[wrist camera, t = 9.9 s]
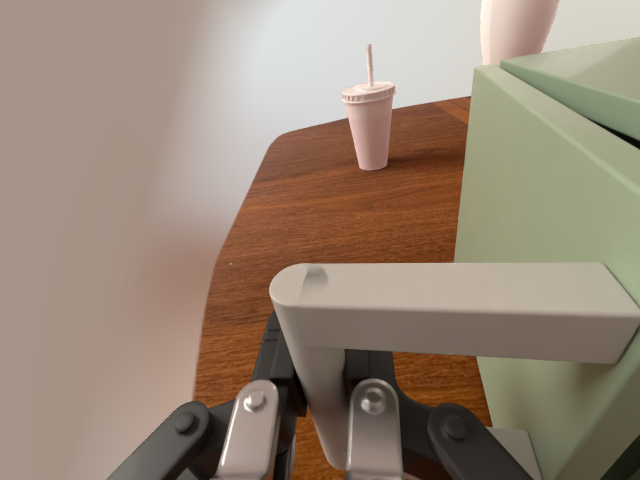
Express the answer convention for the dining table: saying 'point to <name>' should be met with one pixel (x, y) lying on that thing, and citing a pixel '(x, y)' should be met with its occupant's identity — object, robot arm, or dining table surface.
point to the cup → (514, 28)
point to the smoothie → (370, 118)
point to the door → (503, 290)
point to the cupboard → (602, 109)
